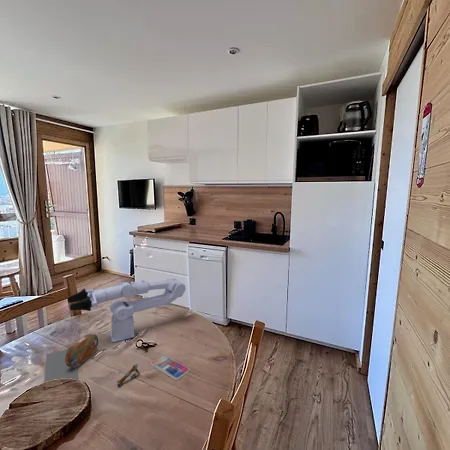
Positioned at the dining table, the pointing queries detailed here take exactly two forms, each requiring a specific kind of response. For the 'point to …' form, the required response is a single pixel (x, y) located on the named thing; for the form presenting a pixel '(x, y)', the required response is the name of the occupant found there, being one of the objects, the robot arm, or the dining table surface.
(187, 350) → the dining table surface
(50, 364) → the mat
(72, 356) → the tin
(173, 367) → the smartphone
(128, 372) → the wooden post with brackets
